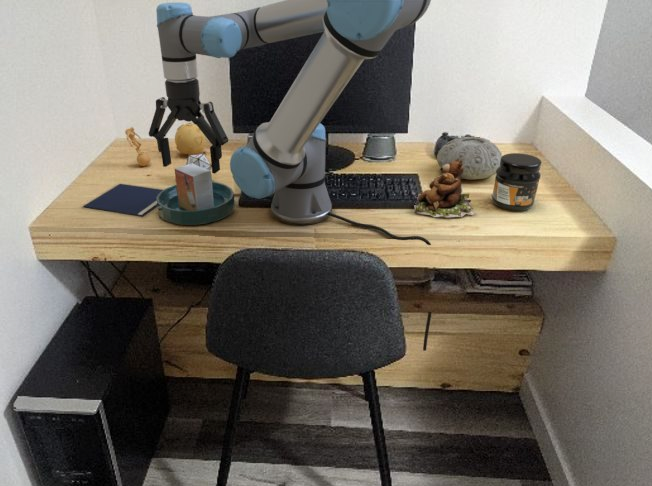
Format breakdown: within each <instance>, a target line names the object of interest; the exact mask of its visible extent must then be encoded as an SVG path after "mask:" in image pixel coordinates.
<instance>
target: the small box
mask: <svg viewBox="0 0 652 486" xmlns="http://www.w3.org/2000/svg"><path fill="white" fill-rule="evenodd" d="M174 176H175V177H174V178H175V182H176V183H175V185H177V194H178V202H179V207H182V208H184V209H186V210H202V209H208V208H211V207H214V199H213V188H212V182H213V180H212V179H213V178H212V170H207V169H204V168H202V167H199V166H197V165H195V164H193V163H191V164H188V165H186V164H184V165H182V166H179V167H178V166H177V167H174Z"/></svg>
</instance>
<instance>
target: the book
mask: <svg viewBox="0 0 652 486" xmlns="http://www.w3.org/2000/svg"><path fill="white" fill-rule="evenodd" d="M163 190H164V189H159V188H153V187H145V186H138V185H131V184H126V183H125V184H124V183H119V184H118V185H116V186H114V187H112V188H111V189H109V190H107V191H105V192H104V193H103V194H101V195H99V196H98V197H96V198H95V199H93V200H90V201H89V202H88V203H86V204H84V205H83V207H82V208H87V209H93V210H97V211H105V212H113V213H117V214H118V213H119V214H124V215H130V216H136V217H137V216H138V217H142V218H143V217H144V216H146V215H147V214H148V213H150V212H151V211H153V210H154V209H155V208H156V207H157V208H158V206H157V199H156V197H157V196H158V194H159V193H160V192H161V191H163Z"/></svg>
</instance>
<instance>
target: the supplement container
mask: <svg viewBox="0 0 652 486" xmlns="http://www.w3.org/2000/svg"><path fill="white" fill-rule="evenodd" d="M541 167H542V160H541V158H539V157H537V156H534V155H531V154H528V153H520V152H511V153H506V154H502V157H501V160H500V167H498V169H497V170H496V173H495V179H494V184H493V189H492V194H491V201H492V203H493V204H494V205H495V206H497V207H498V208H501V209H503V210H507V211H511V212H513V211H514V212H522V211H527V210H530V209H531V208H533V206H534V204H535V202H536V196H537V193H538V188H539V187H538V186H539V184H540V183H539V182H540V180H541V177H542V174H541V172H540V170H541Z"/></svg>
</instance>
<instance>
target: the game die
mask: <svg viewBox="0 0 652 486" xmlns="http://www.w3.org/2000/svg"><path fill="white" fill-rule="evenodd" d="M186 156H187V159H186V163H185V165H188V164H191V163H193V164H195V165H197V166H199V167H202V168H204V169H207V170H210V171H212V165H211V161H210V160H209V159H208V157H207V156H206V150H204V151H203V153H199V154H196V155H189V154H187V155H186Z"/></svg>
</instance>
